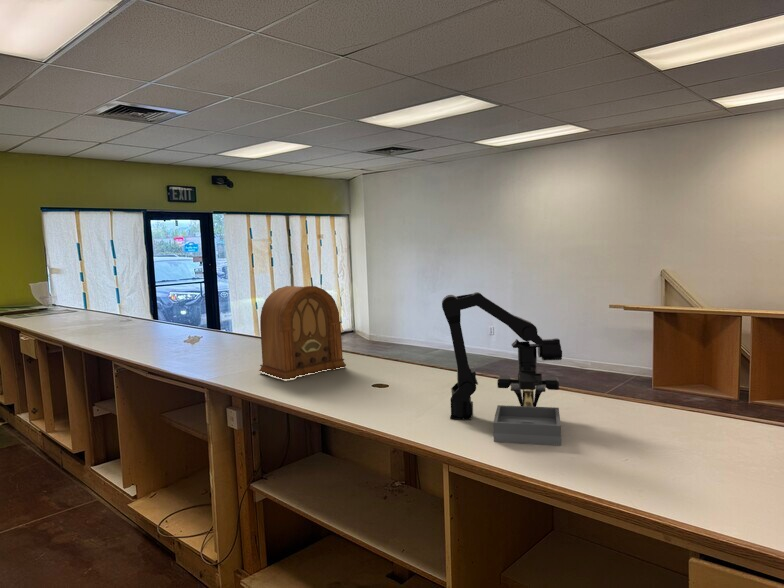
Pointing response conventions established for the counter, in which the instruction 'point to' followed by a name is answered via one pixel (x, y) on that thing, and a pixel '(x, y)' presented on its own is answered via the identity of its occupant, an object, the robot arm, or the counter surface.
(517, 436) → the tray
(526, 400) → the brass peg
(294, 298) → the radio
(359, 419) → the counter surface
